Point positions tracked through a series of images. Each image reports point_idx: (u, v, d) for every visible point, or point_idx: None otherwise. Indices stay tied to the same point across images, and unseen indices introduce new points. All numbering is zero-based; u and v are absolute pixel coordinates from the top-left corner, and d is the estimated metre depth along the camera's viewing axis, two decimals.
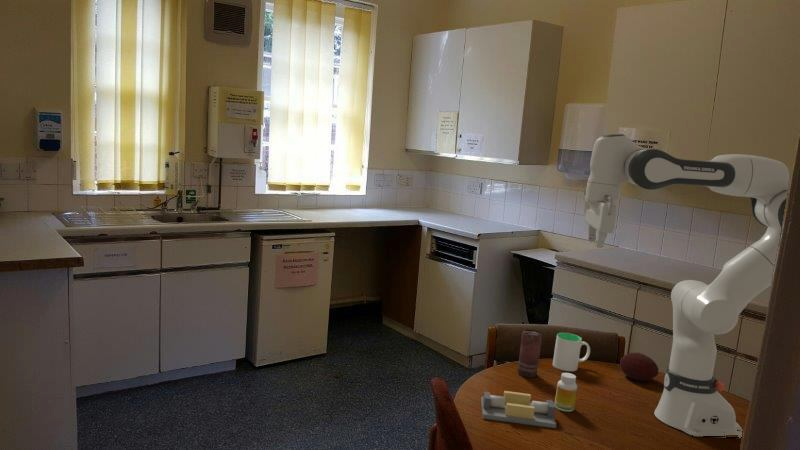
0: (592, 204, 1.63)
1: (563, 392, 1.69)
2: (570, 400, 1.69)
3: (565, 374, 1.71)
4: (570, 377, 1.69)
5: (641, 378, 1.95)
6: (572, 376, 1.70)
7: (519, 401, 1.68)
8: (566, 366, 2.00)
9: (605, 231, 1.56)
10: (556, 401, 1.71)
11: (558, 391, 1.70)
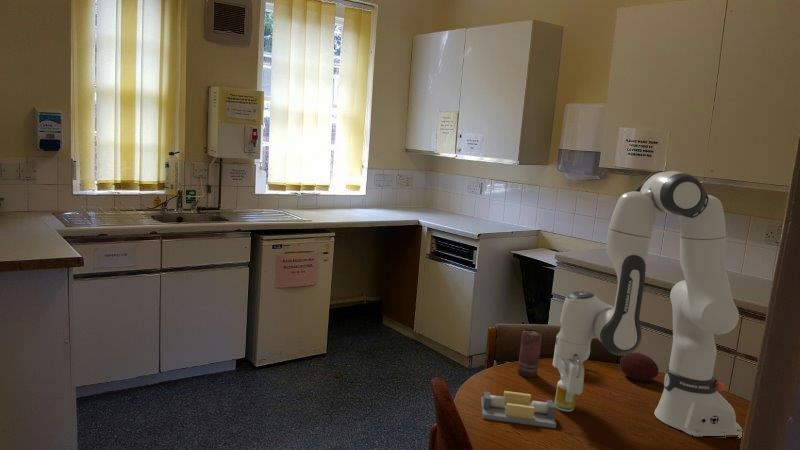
0: (562, 360, 1.68)
1: (563, 392, 1.69)
2: None
3: None
4: None
5: (641, 378, 1.95)
6: None
7: (519, 401, 1.68)
8: None
9: (573, 393, 1.61)
10: (556, 401, 1.71)
11: (558, 391, 1.70)
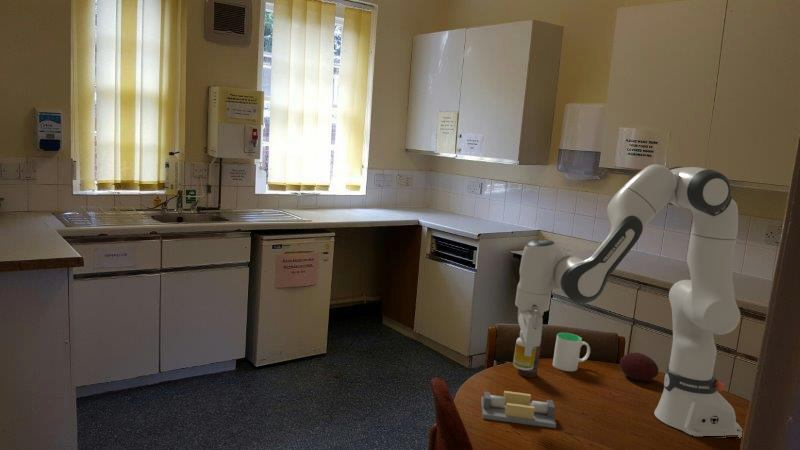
0: (521, 312, 1.59)
1: (522, 349, 1.60)
2: (529, 358, 1.60)
3: None
4: None
5: (641, 378, 1.95)
6: None
7: (519, 401, 1.68)
8: (566, 366, 2.00)
9: (531, 344, 1.52)
10: (514, 359, 1.62)
11: (516, 348, 1.61)
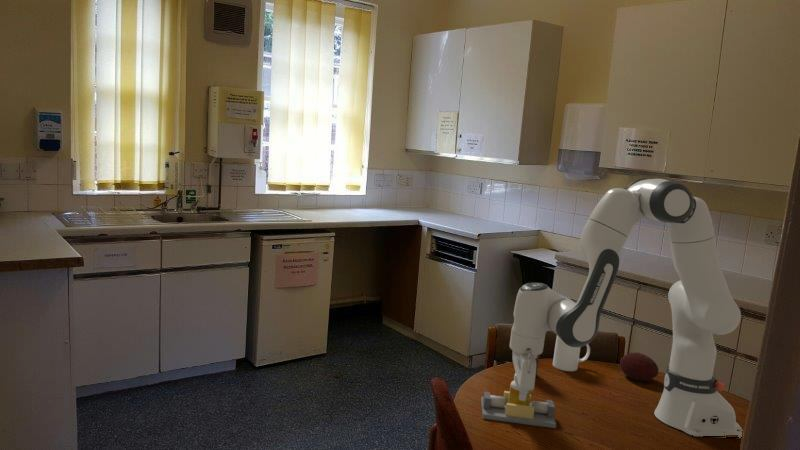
0: (515, 354, 1.61)
1: (516, 393, 1.62)
2: (523, 402, 1.62)
3: None
4: None
5: (641, 378, 1.95)
6: None
7: None
8: (566, 366, 2.00)
9: (525, 389, 1.53)
10: (509, 402, 1.64)
11: (511, 392, 1.63)
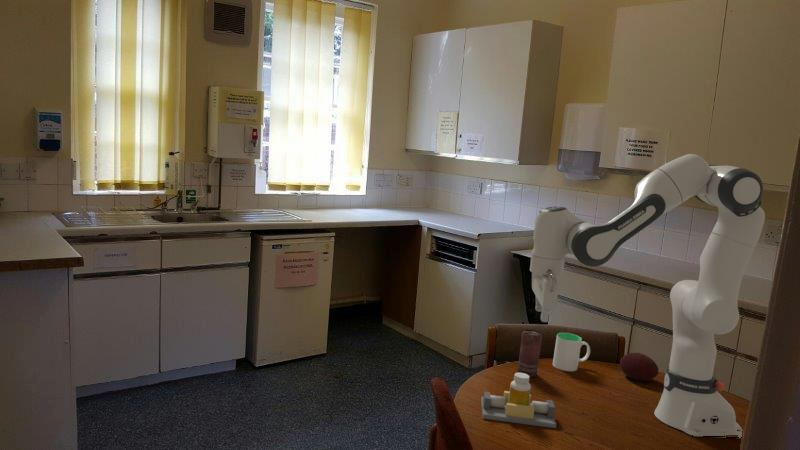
0: (536, 277, 1.63)
1: (516, 393, 1.62)
2: (523, 402, 1.62)
3: (518, 374, 1.64)
4: (523, 377, 1.62)
5: (641, 378, 1.95)
6: (525, 376, 1.63)
7: None
8: (566, 366, 2.00)
9: (548, 308, 1.55)
10: (509, 402, 1.64)
11: (511, 392, 1.63)
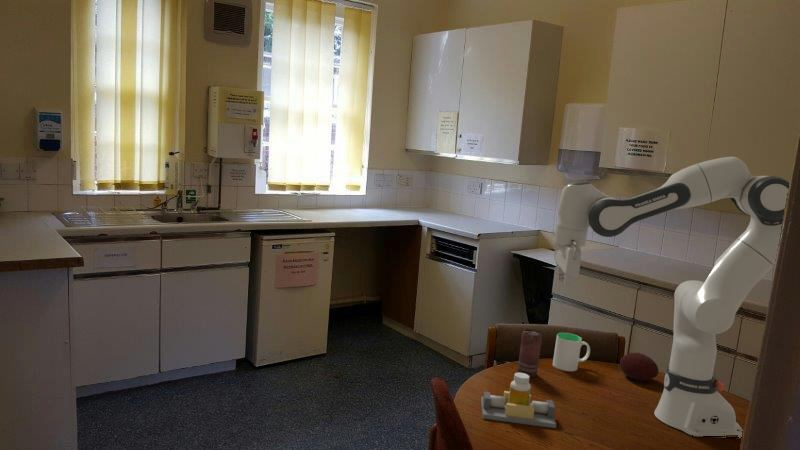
0: (560, 247, 1.74)
1: (516, 393, 1.62)
2: (523, 402, 1.62)
3: (518, 374, 1.64)
4: (523, 377, 1.62)
5: (641, 378, 1.95)
6: (525, 376, 1.63)
7: None
8: (566, 366, 2.00)
9: (571, 274, 1.66)
10: (509, 402, 1.64)
11: (511, 392, 1.63)
